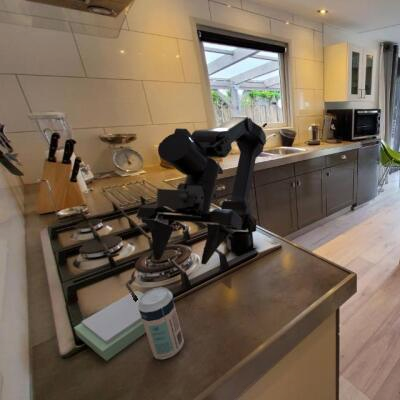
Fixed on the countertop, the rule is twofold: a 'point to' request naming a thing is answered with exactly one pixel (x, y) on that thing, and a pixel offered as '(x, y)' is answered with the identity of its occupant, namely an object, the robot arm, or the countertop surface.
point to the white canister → (161, 322)
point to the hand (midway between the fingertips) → (179, 262)
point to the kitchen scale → (113, 327)
